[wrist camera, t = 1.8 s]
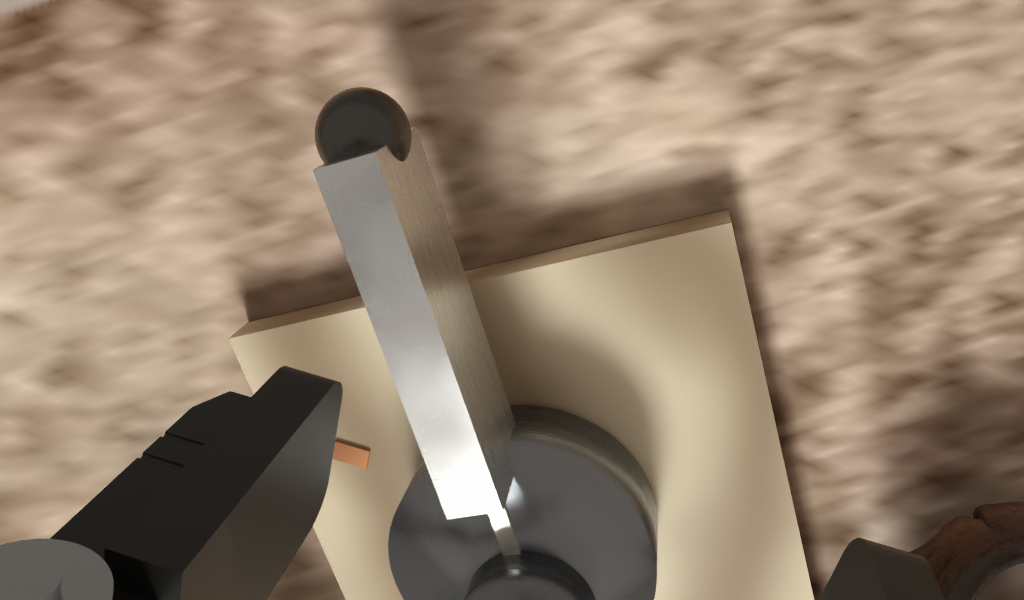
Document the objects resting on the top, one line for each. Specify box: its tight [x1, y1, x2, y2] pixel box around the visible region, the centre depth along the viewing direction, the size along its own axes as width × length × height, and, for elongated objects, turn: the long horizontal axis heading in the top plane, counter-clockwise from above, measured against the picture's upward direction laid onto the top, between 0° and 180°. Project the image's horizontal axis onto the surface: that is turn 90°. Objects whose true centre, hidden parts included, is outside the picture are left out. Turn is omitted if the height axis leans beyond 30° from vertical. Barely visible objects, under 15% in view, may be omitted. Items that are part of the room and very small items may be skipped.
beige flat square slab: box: [229, 209, 814, 600], centre depth 31 cm, size 18×18×2 cm
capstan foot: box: [313, 87, 658, 600], centre depth 26 cm, size 21×9×5 cm, turn 17°
